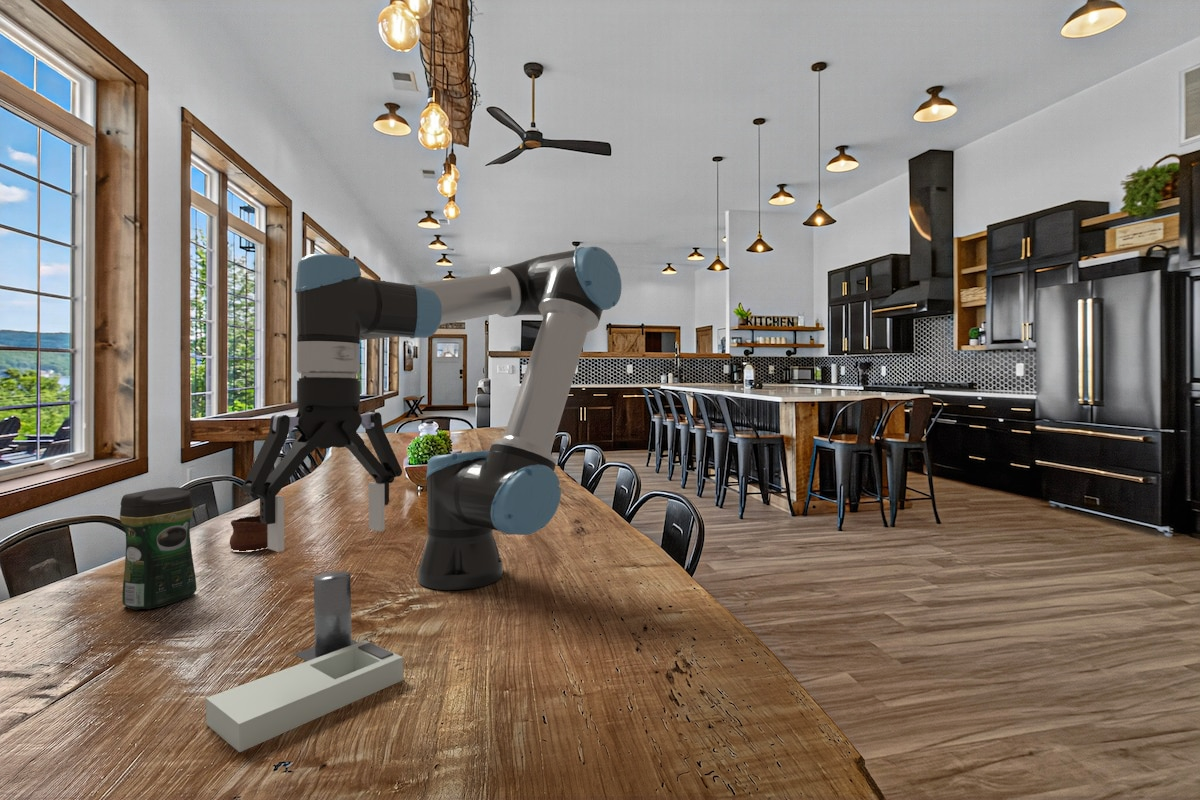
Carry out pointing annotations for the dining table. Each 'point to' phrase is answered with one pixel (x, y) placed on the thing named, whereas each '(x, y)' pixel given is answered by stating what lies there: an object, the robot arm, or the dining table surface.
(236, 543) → the ceramic pot
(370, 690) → the slotted holder block
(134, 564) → the coffee jar
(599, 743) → the dining table surface
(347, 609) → the barrel peg
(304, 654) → the mat
